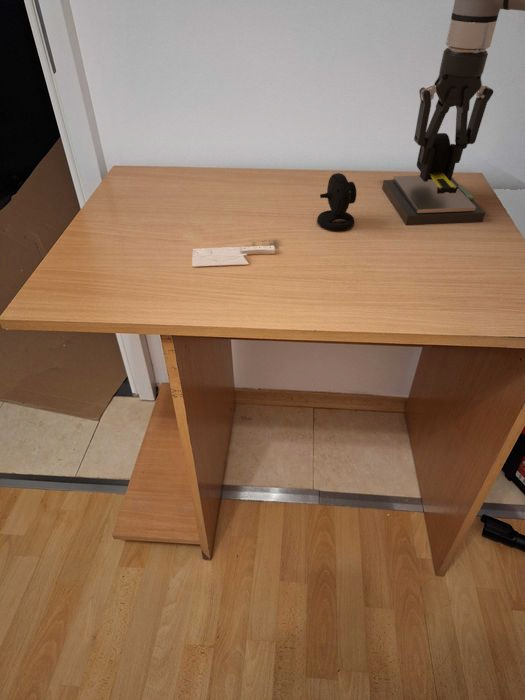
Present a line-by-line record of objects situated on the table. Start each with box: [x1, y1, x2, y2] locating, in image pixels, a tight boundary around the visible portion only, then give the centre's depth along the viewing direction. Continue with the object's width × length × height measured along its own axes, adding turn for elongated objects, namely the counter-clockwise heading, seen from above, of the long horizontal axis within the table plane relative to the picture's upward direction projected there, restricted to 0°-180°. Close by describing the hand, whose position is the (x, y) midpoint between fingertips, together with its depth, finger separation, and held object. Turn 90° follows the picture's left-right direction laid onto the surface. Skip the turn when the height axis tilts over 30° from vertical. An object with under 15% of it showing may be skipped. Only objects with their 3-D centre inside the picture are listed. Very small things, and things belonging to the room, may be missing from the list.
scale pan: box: [392, 174, 476, 213], centre depth 103 cm, size 12×17×1 cm
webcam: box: [316, 172, 357, 232], centre depth 95 cm, size 8×8×10 cm
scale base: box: [381, 177, 486, 226], centre depth 104 cm, size 16×18×3 cm
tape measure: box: [416, 132, 458, 194], centre depth 98 cm, size 15×4×8 cm, turn 2°
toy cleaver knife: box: [191, 245, 276, 268], centre depth 87 cm, size 5×15×1 cm, turn 94°
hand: (435, 178), depth 101 cm, fingers closed on tape measure, 4 cm apart
